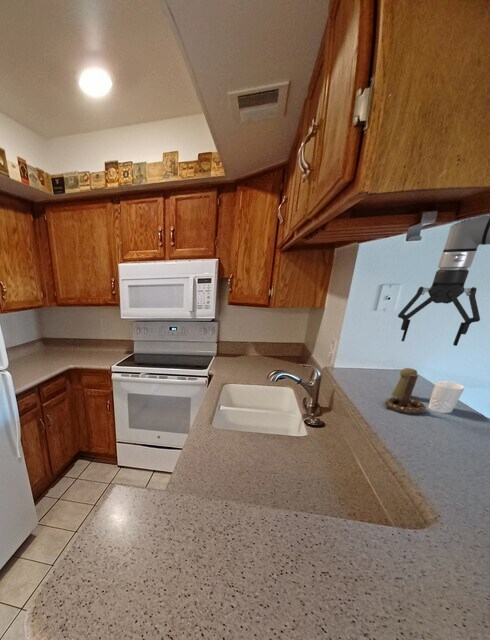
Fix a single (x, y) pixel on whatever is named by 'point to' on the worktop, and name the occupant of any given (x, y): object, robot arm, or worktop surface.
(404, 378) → the cork
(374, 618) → the worktop surface
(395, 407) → the ring
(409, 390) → the stand
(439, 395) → the white cup
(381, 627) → the worktop surface
